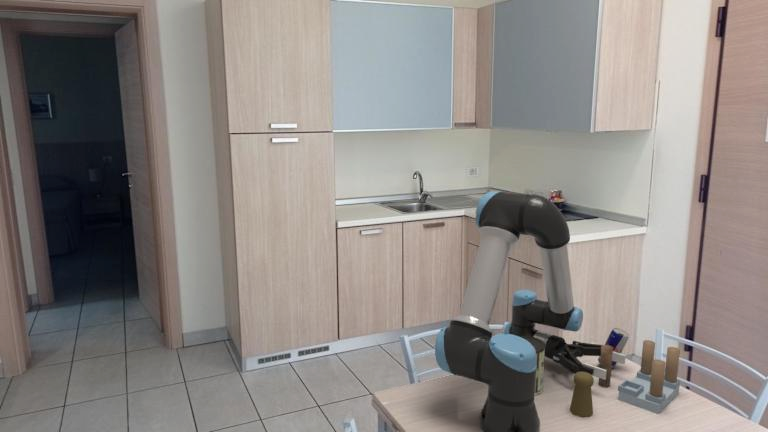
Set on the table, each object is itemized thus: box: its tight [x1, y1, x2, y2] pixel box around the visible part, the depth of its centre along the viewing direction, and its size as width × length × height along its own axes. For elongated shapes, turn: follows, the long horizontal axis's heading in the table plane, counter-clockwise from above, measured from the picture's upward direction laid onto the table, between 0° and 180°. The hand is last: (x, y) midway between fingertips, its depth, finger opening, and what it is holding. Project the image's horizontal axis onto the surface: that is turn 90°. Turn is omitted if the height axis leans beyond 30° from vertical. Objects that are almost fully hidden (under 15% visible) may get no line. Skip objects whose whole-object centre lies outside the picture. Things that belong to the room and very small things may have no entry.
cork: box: [569, 372, 595, 418], centre depth 153 cm, size 6×6×11 cm
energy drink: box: [597, 327, 630, 370], centre depth 178 cm, size 5×5×12 cm
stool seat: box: [617, 339, 681, 415], centre depth 161 cm, size 11×16×14 cm
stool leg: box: [597, 344, 613, 388], centre depth 167 cm, size 3×3×12 cm
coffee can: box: [519, 336, 546, 396], centre depth 166 cm, size 10×10×14 cm
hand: (615, 367), depth 165 cm, fingers open, 13 cm apart
